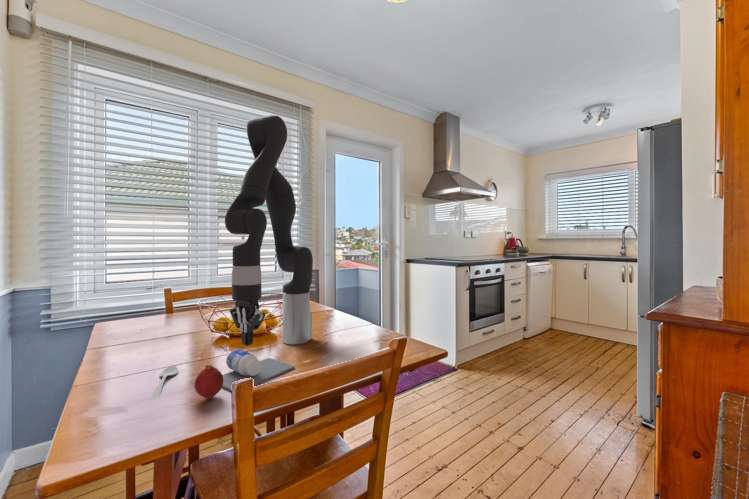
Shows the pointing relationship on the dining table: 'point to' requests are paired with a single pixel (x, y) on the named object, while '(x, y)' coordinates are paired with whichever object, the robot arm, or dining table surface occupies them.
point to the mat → (266, 372)
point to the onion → (209, 382)
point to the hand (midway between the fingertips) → (247, 344)
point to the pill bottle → (243, 362)
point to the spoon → (164, 373)
